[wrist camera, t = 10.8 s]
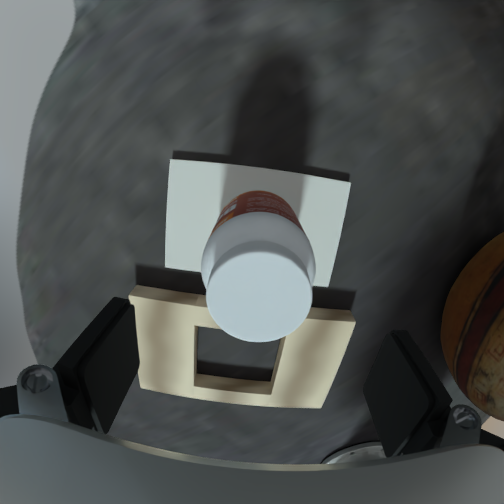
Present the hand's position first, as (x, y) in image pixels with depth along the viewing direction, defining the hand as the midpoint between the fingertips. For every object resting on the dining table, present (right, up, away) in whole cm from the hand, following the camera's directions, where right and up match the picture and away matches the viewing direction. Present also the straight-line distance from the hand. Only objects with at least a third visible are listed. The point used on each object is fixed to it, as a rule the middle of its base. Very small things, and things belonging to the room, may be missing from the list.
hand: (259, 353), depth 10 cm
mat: (0, +6, +13) cm, 15 cm away
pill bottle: (0, +5, +13) cm, 14 cm away
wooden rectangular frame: (-2, -6, +18) cm, 19 cm away
